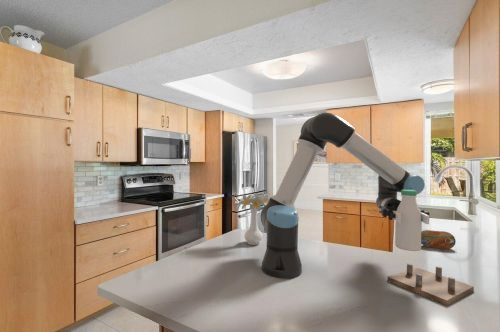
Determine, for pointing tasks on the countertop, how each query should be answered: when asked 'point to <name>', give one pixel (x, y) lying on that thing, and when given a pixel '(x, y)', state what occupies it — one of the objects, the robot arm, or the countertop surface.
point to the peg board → (431, 284)
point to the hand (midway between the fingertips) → (413, 219)
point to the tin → (437, 239)
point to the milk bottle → (408, 223)
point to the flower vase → (253, 216)
